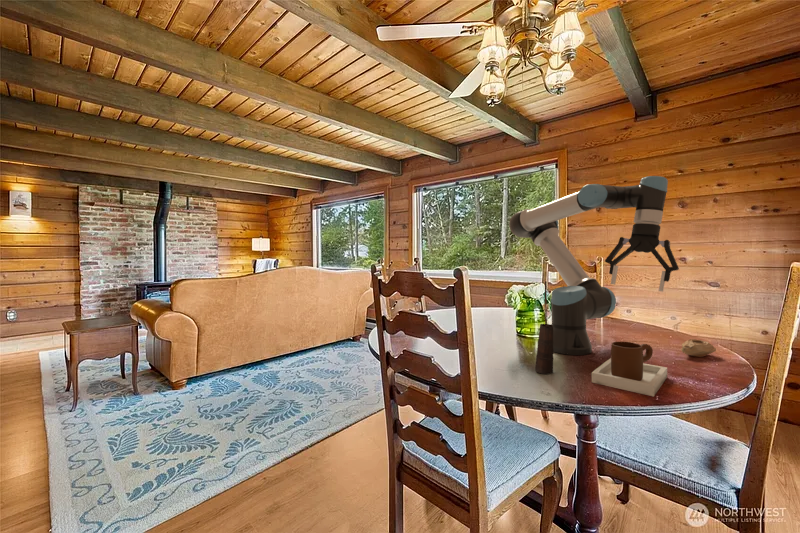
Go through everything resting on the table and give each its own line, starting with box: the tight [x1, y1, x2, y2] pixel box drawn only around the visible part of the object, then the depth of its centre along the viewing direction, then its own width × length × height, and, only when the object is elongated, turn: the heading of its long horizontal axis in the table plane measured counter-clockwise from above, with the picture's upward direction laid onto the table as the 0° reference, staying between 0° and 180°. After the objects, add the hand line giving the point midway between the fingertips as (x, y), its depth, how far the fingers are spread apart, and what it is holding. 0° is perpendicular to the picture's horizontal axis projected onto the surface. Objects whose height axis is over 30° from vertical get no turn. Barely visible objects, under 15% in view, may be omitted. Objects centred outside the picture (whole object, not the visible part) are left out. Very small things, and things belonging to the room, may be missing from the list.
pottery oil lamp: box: [680, 338, 717, 358], centre depth 120 cm, size 9×12×7 cm
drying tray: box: [591, 357, 668, 397], centre depth 99 cm, size 14×18×3 cm
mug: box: [610, 341, 654, 381], centre depth 99 cm, size 12×8×9 cm, turn 100°
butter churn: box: [534, 280, 554, 375], centre depth 106 cm, size 9×10×28 cm
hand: (635, 287), depth 116 cm, fingers open, 13 cm apart
